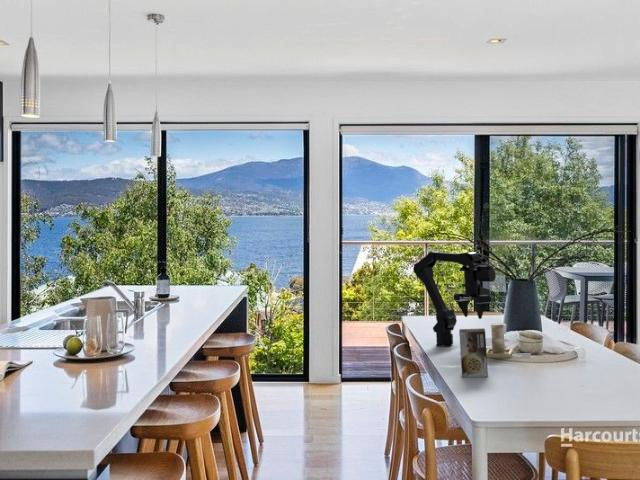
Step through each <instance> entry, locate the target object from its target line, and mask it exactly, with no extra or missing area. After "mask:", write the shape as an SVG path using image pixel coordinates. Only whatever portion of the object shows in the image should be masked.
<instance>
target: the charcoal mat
mask: <svg viewBox="0 0 640 480" xmlns="http://www.w3.org/2000/svg"><path fill="white" fill-rule="evenodd" d="M515 354H517V355H522V357H515V356H511V358H510V359H525V360H527V359H529V360H530V358H531V356H532V352H531V353H515ZM487 359H502V358H501V357H487Z"/></svg>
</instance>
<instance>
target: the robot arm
mask: <svg viewBox="0 0 640 480" xmlns="http://www.w3.org/2000/svg"><path fill="white" fill-rule="evenodd" d="M439 261H440V262H449V263H457V264H459V265H460V266H461V268H459V272H463V275H464V276H463V278H464V279H463V280H464V283H462V287H464V292H458V293H457V292H455V293H454V295H453V301H455V303H457V305H458V307H459V309H460V310H461V312H462V314H463V316H464V317H465V318H467V317H468V315H469V303H470V302H471V301H474V306H475V310H476V314H477V317H478V319H479V320H481V319H483V314H484V311H485V308H486V307H487V305H489V304H490V303H491V302H492V301H493V300H492V299H493V297H492V296H491V295H490V293H491V290H490V289H488V288H485V287H483V286H482V284H481V283H482V282H483V283H484V282H487V283H489V282H490V283H494V282H495V280H496V276H497V275H496V274H497V273H496V271H495V269H494V268H493V267H494V266H493V265H485V263H483V261H482V260H481V258H480V257H479V253H477V252H476V251H468V252H459V253H456V252H444V251H442V252H441V251H436V250H435V251H429V252H428V253H427V254H426V255H425V256H423V257H422V258H421V259H420V260H419V261H418V262H416V263H415V264H414V265H413V267H412V268H413V269H412V270H413V272H414V275H415V276H416V277H417V278H418V280H420V281H421V282H422V284H423V285H424V288H425V290H426V292H427V294H428V296H429V298H430V301H431V303H432V305H433V307H434V309H435V319H436V323H435V325H434V326H433V327H432V330H433V333H436V334H435V335H436V336H435V337H436V344H435V346H436V347H451V346H452V345H453V344H454V334H453V333H452V331H454V329H455V327H456V325H457V321H458V320H457V315H456V314H455V311H454V309H452V308H450V309H449V308H448V307H447V306H446V303H445V301H444V299H443V296H442V295H441V292H440V290H439V288H438V286H437V284H436V281H435V280H434V269H433V268H434V267H435V266H436V264H437V262H439ZM479 282H481V283H479Z"/></svg>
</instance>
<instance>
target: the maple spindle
mask: <svg viewBox="0 0 640 480" xmlns="http://www.w3.org/2000/svg"><path fill="white" fill-rule="evenodd" d="M491 324H492V325H491ZM491 324H490V330H491V346H492V352H491V353H507V352H505V347H506V345H505V342H506V341H505V340H504V324H505V323H504V324H494V323H491Z"/></svg>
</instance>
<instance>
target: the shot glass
mask: <svg viewBox="0 0 640 480" xmlns="http://www.w3.org/2000/svg"><path fill="white" fill-rule="evenodd" d="M492 324H504V334H506V335H507V323H502V322H497V323H491V324H490V326H491V325H492Z"/></svg>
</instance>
